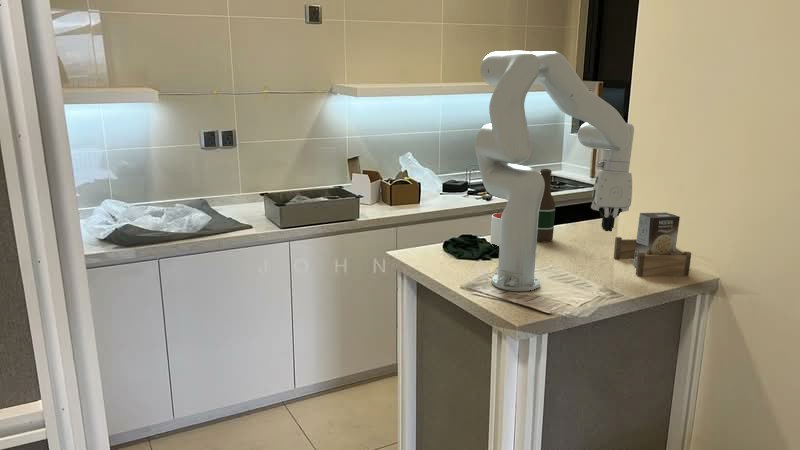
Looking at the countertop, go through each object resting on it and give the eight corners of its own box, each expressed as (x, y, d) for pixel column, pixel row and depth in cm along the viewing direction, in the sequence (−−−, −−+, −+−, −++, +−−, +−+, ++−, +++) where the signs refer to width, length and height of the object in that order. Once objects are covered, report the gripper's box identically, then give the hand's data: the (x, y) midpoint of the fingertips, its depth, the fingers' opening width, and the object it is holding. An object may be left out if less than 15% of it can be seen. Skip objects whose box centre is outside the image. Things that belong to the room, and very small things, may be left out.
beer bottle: (527, 240, 212) (532, 170, 206) (531, 235, 219) (536, 167, 213) (550, 243, 209) (556, 171, 204) (554, 238, 216) (559, 168, 211)
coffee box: (646, 272, 180) (652, 217, 176) (632, 265, 186) (638, 212, 182) (673, 270, 182) (680, 216, 179) (659, 264, 188) (666, 211, 185)
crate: (688, 276, 177) (691, 252, 176) (637, 276, 176) (640, 252, 175) (659, 258, 194) (662, 236, 193) (613, 258, 194) (615, 236, 192)
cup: (488, 241, 210) (489, 212, 208) (518, 242, 210) (519, 213, 208) (492, 250, 201) (494, 219, 198) (524, 250, 201) (526, 219, 198)
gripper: (593, 167, 174) (586, 232, 177) (646, 169, 175) (637, 234, 178) (584, 164, 181) (577, 226, 185) (635, 166, 182) (626, 228, 186)
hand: (607, 230), depth 182 cm, fingers closed
